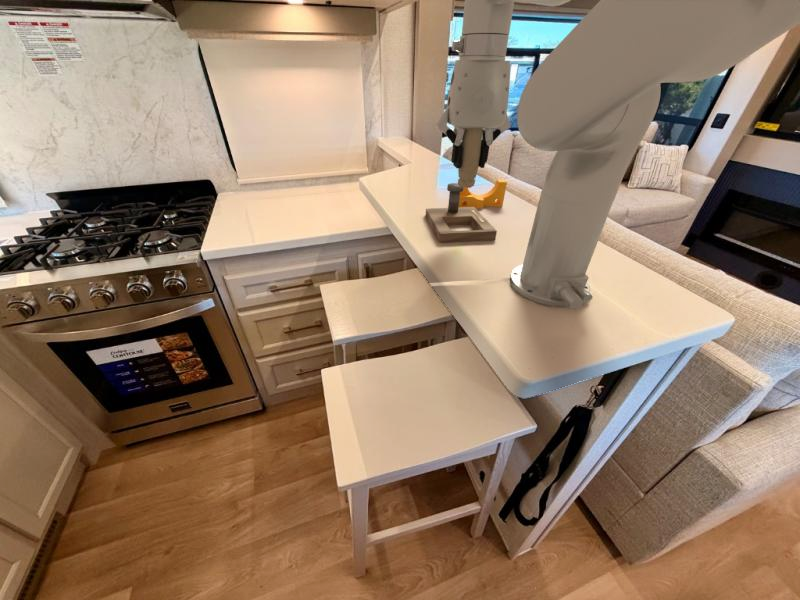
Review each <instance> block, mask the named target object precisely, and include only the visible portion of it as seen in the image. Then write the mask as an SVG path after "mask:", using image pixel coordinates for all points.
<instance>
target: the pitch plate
mask: <svg viewBox="0 0 800 600" xmlns="http://www.w3.org/2000/svg"><path fill="white" fill-rule="evenodd" d="M446 190H447V191H448V192H449V193H448V194H449V195H448V205H447V207H438V208H437V207H436V208H434V207H433V208H425V217H426V220H427V221H428V223H429V225H430V227H431V229H432V232H433V234H434V235H435V237H436V239H437V241H438V243H440V244H441V243H443V244H444V243H462V242H463V243H464V242H465V243H466V242H481V241H485V242H486V241H496V239H497V233H498V231H497V229H496V228H494V226H493V225H492V224H491V223H490V222H489V221H488V220H487V218H485V217H484V216H483V215H482V214H481V213H480V212H479V210H478V208H475V207H459V199H460V192H462V191H463V187H461V186H459V185H458V182H456V183H455V182H453V183H452V182H451V183H448V184H447V189H446ZM461 225H462V226H465V225H467V226H468V225H471V227H472V228H473V229H472V230H471V229H470V230H468V229H467V230H451V229H450V228H449V226H461Z"/></svg>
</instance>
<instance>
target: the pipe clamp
mask: <svg viewBox="0 0 800 600" xmlns="http://www.w3.org/2000/svg"><path fill="white" fill-rule="evenodd" d="M507 185H508V181H506V180H505V179H503V178H502V179H496V182H495V184H494V186H493V187H492V188H491V189H490V190H489V191H488V192H485V193H484V194H476V193H472V192H471V191H470V190H469V188H467V187H465V188H463V191H462V192H460V199H459V207H475V208H476V209H484V207H497V208H498V207H501V208H503V205H504V199H505V195H506V191H507V190H506V189H507Z"/></svg>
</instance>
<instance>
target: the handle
mask: <svg viewBox="0 0 800 600" xmlns="http://www.w3.org/2000/svg"><path fill="white" fill-rule="evenodd" d="M482 130H483V128H465V131H464V134H463V138H462V141H461V142H462V145H461V146H463V155H462V163H461V168H458V170H457V171H458V172H457V173H458V174H457V175H458V180H457V183H458V185H459V186H461V187H463V188H465V187H467V188H468V189H471V188H472V187H474V186H475V184H476V183H475V182H476V177H477V175H478V170H479V161H480V160H479V159H480V152H481V140H482Z"/></svg>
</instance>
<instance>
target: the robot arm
mask: <svg viewBox="0 0 800 600" xmlns="http://www.w3.org/2000/svg"><path fill="white" fill-rule="evenodd" d="M570 1H572V0H464V6H463V7H464V8H463V16H462V17H463V18H462V26H461V27H462V28H461V36H460V38H459V39H457V40H452V44H451V51H453V52H456V53H458V57H459V59H456V60H455V62H454V65H453V69H452V73H451V79H450V83H449V88H448V97H447V100H446V101H447V102H446V108H445V110H444V112H443V113H442V115H441V116H440V118H439V119H438V121H437V123H436V125H435V127H436V128H437V129H438V130H439V131H441V132H442V133H443V134H444V135H445V136H446V137H447V138H448V140H449V141H450V142H451V143H452V151H451V163H452V165H453V167H455V168H456V170H457V169H458V168H461V163H462V155H463V146H461V145H462V138H463V134H464V131H465V128H483V130H482V140H481V152H480V159H479V160H480V161H479V166H478V168H480V169H484V168H485V165H486V163H487V162H488V158H489V151H490V147H491V146H492V145H493V142H494V141H495V140H497V138H498V137H500V136H501V134H503V133H505V132H506V131H507V130H509V129H510V128H511V127H512V123H511V122H510V119H509V116H508V114H507V112H508V106H509V98H510V97H509V96H510V86H511V85H510V84H511V83H510V82H511V61H510V60H506V56H507V49H508V44H509V36H510V30H511V24H512V18H513V12H514V6H515V3H521V4H532V5H533V4H534V5H538V6H544V7H545V6H546V7H558V6H561V5H564V4H566V3H569V2H570ZM798 25H800V0H599V1H598V2H597V3H596V4H595V5H594V6H593V7H592V9H590V10H589V12H588V13H587V14H586V15H585V16H584V17H583V18H581V19H580V21H579V22H578V23H577V25H575V26H574V27H573V29H572V30H571V31H570V32H569V33H568V34H567V35H566V36H565V37H564V38H563V39H562V40H561V41H560V42H559V43H558V44H557V45H556V46H555V48H554V49H553V50H552V51H551V52H550V53H549V54H548V55H547V56H546V57H545V58H544V60H543V61H541V63H540V64H539V66H537V68H536V69H535V70H534V72H533V73H532V75H531V76H530V78H529V79H528V81H527V82H526V84H525V86H524V87H523V90H522V93H521V95H520V98H519V101H518V105H517V111H516V123H517V128H518V131H519V134H520V136H521V137H522V139H523V140H524V141H525V143H527V144H528V145H529V146H531V147H533V148H534V149H536V150H540V151H543V152H544V151H545V152H555V155H554V156H553V158H552V160H551V162H550V165H549V166H548V169H547V171H546V174H545V176H544V180H543V184H542V189H541V191H540V195H539V199H538V203H537V208H536V211H535V215H534V217H533V223H532V227H531V230H530V234H529V238H528V243H527V246H526V251H525V254H524V258H523V262H522V264H520V265H517V266H516V267H514V268H513V269H512V271H511V272H510V278H509V281H510V284H511V286H512V289H514V290H515V291H516V292H517V293H518V294H519V295H521V296H522V297H524V298H526V299H528V300H531V301H533V302H536V303H539V304H541V305H545V306H552V307H560V308H563V307H567V308H568V307H569V308H570V309H572V310H578V309H580V308H581V307H582V306H583V305H584V303H588V302H590V301H592V299H593V295H592V294H591V293H590V292H591V288H590V287H591V286H590V284H589V283H588V280H589V275H587V271H588V268H589V266H590V262H591V260H592V257H593V255H594V252H595V250H596V248H597V245H598V243H599V240H600V237H601V235H602V231H603V229H604V226H605V223H606V222H607V219H608V217H609V213H610V210H611V208H612V206H613V204H614V201H615V199H616V196H617V194H618V191H619V188H620V186H621V183H622V181H623V178H624V176H625V174H626V171H627V169H628V167H629V165H630V163H631V160H632V159H633V157H634V155H635V153H636V151H637V150H638V147H639V146H640V145H641V142H642V140H643V139H644V138H645V135H646V134H647V131H648V130H649V128H650V126H651V124H652V122H653V120H654V118H655V116H656V113H657V110H658V108H659V104H660V99H661V94H662V93H661V90H662V89H661V88H662V87H661V84H662V83H663V84H664V83H665V84H666V83H672V84H673V83H675V84H676V83H693V82H699V81H704V80H708V79H710V78H713V77H715V76H718V75H720V74H723V72H725V71H728V70H729V69H731V68H732V67H734V66H736V65H737V64H739V63H740V62H742V61H744V60H745V59H746V58H748V57H750V56H751V55H753V54H754V53H756V52H757V51H759V50H760V49H762V48H763V47H765V46H767V45H768V44H769V43H771V42H773V41H774V40H775V39H778V38H780V36H782V35H783V34H785V33H787V32H789V31H790V30H793V28H795V27H796V26H798ZM448 125H451V126H452V127H453V130H452V129H451V128H450V127H449V126H448Z"/></svg>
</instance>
